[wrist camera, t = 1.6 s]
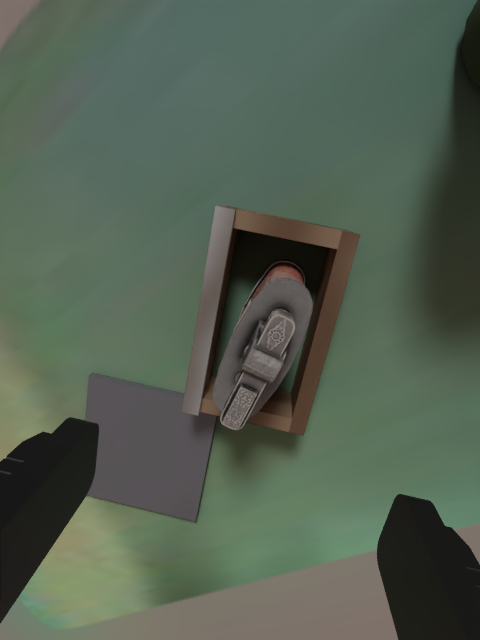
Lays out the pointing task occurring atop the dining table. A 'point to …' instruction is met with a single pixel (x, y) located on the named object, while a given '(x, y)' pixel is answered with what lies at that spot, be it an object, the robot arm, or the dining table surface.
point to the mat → (148, 447)
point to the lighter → (263, 343)
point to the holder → (296, 406)
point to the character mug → (472, 44)
